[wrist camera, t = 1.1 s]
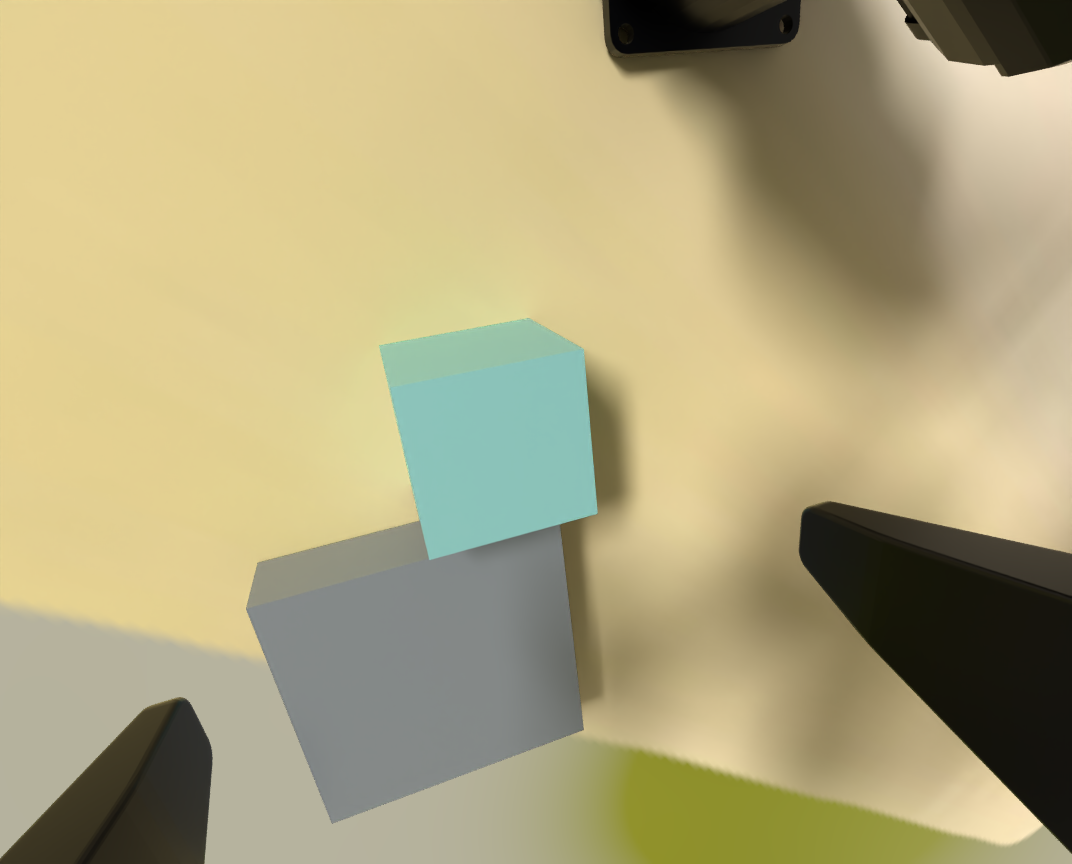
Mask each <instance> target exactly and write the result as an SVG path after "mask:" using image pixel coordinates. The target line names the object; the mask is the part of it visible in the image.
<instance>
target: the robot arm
mask: <svg viewBox="0 0 1072 864" xmlns="http://www.w3.org/2000/svg"><path fill="white" fill-rule="evenodd" d="M602 1H603V18H604V36H605V43H606V47H607V48H608V50H609V52H610V53H611V54H613V55H614V56H615V57H620V58H623V57H637V56H652V55H666V54H681V53H695V52H709V51H724V50H738V49H752V48H767V47H777V46H780V45H783V44H786V43H788V42H790V41H791V40H793V39H794V38H795V36H796V34H797V32H798V28H799V22H800V4H801V0H602ZM897 1H898V3H899V4H900V5H901V7H902V8H903V10H904V11H905V13H906V14H907V16H906V18H905V23H906V24H907V26H908V27H909V29H910V30H911V32H912V33H913V34H914V36H915V37H916V38H917V39H919V40H929V41H931V42H932V43H933V44H934V46H935V47H936V48H937V49H938V50H939V51H940V52H941V53H942V54H943V55H944V56H945V57H946V58H947V60H948V61H954V62H962V63H969V64H976V65H983V66H986V65H995V67H996V68H997V70H998V72H999V73H1000V74H1001V76H1007V77H1009V76H1014V75H1019V74H1023V73H1028V72H1032V71H1037V70H1042V69H1046V68H1050V67H1055V66H1059V65H1063V64H1067V63H1069V62H1072V0H897ZM780 19H781V20H782V22H783V23H784V31H783V33H782V32H781V31H780V28H779V23H780ZM619 28H624V29H625V31H626V32H627V35H628V41H627V44H623V43H622V42H621V41H620V40H619V36H618V31H619ZM799 555H800V558H801V561H802V563H803V565H804V566H805V568H806V569H807V570H808V571H809V572H810V574H811V575H812V576H813V577H814V579H815V580H816V581H817V582H818V583H819V585H820V586H821V587H822V588H823V590H824V591H825V592H826V593H827V595H828V596H829V597H830V598H831V599H832V601H833V602H834V603H835V604H836V606H837V607H838V608H839V609H840V611H841V612H842V613H843V614H844V615H845V617H846V618H847V619H848V620H849V622H850V623H851V624H852V625H853V627H854V628H855V629H856V630H857V631H858V633H859V634H860V635H861V636H862V637H863V638H864V640H865V641H866V642H867V643H868V644H869V645H870V646H871V647H872V649H873V650H874V651H875V652H876V653H877V654H878V655H879V656H880V657H881V658H882V659H883V660H884V661H885V662H886V663H887V664H888V665H889V666H890V667H891V668H892V669H893V670H894V672H895V673H896V674H897V675H898V676H899V677H900V678H901V679H902V680H903V681H904V682H905V683H906V684H907V685H908V686H909V687H910V688H911V689H912V690H913V691H914V692H915V693H916V694H917V695H918V696H919V697H920V698H921V699H922V700H923V701H924V702H925V703H926V704H927V705H928V707H929V708H930V709H931V710H932V711H933V712H934V713H935V714H936V715H937V716H938V717H939V718H940V719H941V720H942V721H943V722H944V723H945V724H946V725H947V726H948V727H949V728H950V729H951V730H952V731H953V732H954V733H955V734H956V735H957V736H958V737H959V738H960V739H961V740H962V742H963V743H964V744H965V745H966V746H967V747H968V748H969V749H970V750H971V751H972V752H973V753H974V754H975V755H976V756H977V757H978V758H979V759H980V760H981V761H982V762H983V763H984V764H985V765H986V766H987V767H988V768H989V769H990V770H991V771H992V772H993V773H994V774H995V775H996V776H997V778H998V779H999V780H1000V781H1001V782H1002V783H1003V784H1004V785H1005V786H1006V787H1007V788H1008V789H1009V790H1010V791H1011V792H1012V793H1013V794H1014V795H1015V796H1016V797H1017V798H1018V799H1019V800H1020V801H1021V802H1022V803H1023V804H1024V805H1025V806H1026V807H1027V808H1028V809H1029V810H1030V811H1031V813H1032V814H1033V815H1034V816H1035V817H1036V818H1037V819H1038V820H1039V821H1040V822H1041V823H1042V824H1043V825H1044V826H1045V827H1046V828H1047V829H1048V830H1049V831H1050V832H1051V833H1052V834H1053V835H1054V836H1055V837H1056V838H1057V839H1058V840H1059V841H1060V842H1061V843H1062V844H1063V845H1064V846H1065V847H1066V849H1068V850H1069V852H1070V853H1071V854H1072V554H1070V553H1066V552H1061V551H1056V550H1052V549H1047V548H1043V547H1038V546H1034V545H1029V544H1024V543H1020V542H1015V541H1011V540H1006V539H1001V538H997V537H992V536H988V535H983V534H978V533H974V532H969V531H965V530H960V529H956V528H951V527H946V526H942V525H937V524H933V523H928V522H923V521H919V520H914V519H910V518H905V517H900V516H896V515H891V514H887V513H882V512H878V511H873V510H868V509H864V508H859V507H855V506H850V505H845V504H841V503H836V502H831V501H827V502H822V503H819V504H816V505H812V506H809V507H807V508H806V509H804V511H803V513H802V516H801V527H800V539H799ZM211 773H212V750H211V745H210V742H209V739H208V737H207V736H206V733H205V731H204V729H203V727H202V725H201V723H200V721H199V719H198V717H197V715H196V713H195V711H194V709H193V707H192V705H191V704H190V702H189V701H188V700H187V699H185V698H181V697H179V698H174V699H171V700H168V701H164V702H161V703H158V704H155V705H151V706H149V707H147V708H145V709H144V710H143V711H142V712H141V713H140V714H139V715H138V716H137V717H136V718H135V719H134V720H133V721H132V722H131V723H130V724H129V725H128V726H127V727H126V728H125V729H124V730H123V731H122V732H121V733H120V734H119V735H118V737H116V739H115V740H114V741H113V742H112V743H111V744H110V745H109V746H108V747H107V748H106V749H105V750H104V751H103V752H102V753H101V754H100V755H99V756H98V757H97V758H96V759H95V760H94V761H93V763H92V764H91V765H90V766H89V767H88V768H87V769H86V770H85V771H84V772H83V773H82V774H81V775H80V776H79V777H78V778H77V779H76V780H75V781H74V782H73V783H72V784H71V785H70V786H69V788H68V789H67V790H66V791H65V792H64V793H63V794H62V795H61V796H60V797H59V798H58V799H57V800H56V801H55V802H54V803H53V804H52V805H51V806H50V807H49V808H48V809H47V810H46V811H45V812H44V814H42V816H41V817H40V818H39V819H38V820H37V821H36V822H35V823H34V824H33V825H32V826H31V827H30V828H29V829H28V830H27V831H26V832H25V833H24V835H22V836H21V837H20V838H19V839H18V841H17V842H16V843H15V844H14V845H13V846H12V847H11V848H10V849H9V850H8V851H7V852H6V853H5V854H4V855H3V856H2V857H1V858H0V864H204V860H205V849H206V836H207V823H208V810H209V798H210V786H211Z"/></svg>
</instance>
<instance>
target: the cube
mask: <svg viewBox="0 0 1072 864" xmlns="http://www.w3.org/2000/svg"><path fill="white" fill-rule="evenodd" d="M379 347H380V352H381V356H382V360H383V365H384V369H385V373H386V378H387V382H388V386H389V391H390V395H391V399H392V404H393V408H394V412H395V417H396V421H397V425H398V430H399V434H400V438H401V443H402V447H403V452H404V456H405V460H406V465H407V469H408V473H409V478H410V482H411V486H412V490H413V494H414V499H415V503H416V507H417V511H418V515H419V519H420V523H421V527H422V532H423V536H424V540H425V544H426V548H427V552H428V556H429V560H432V559H435V558H439V557H443V556H446V555H450V554H453V553H457V552H461V551H464V550H468V549H472V548H475V547H479V546H482V545H486V544H490V543H493V542H497V541H501V540H504V539H508V538H511V537H515V536H519V535H522V534H526V533H530V532H533V531H537V530H540V529H544V528H548V527H551V526H555V525H559V524H562V523H566V522H569V521H573V520H577V519H580V518H584V517H588V516H591V515H595V514H598V513H597V501H596V489H595V477H594V465H593V454H592V442H591V430H590V418H589V406H588V394H587V383H586V371H585V359H584V349H583V348H581V347H579V346H577V345H576V344H574V343H572V342H570V341H569V340H567V339H565V338H563V337H561V336H560V335H558V334H556V333H554V332H553V331H551V330H549V329H547V328H545V327H544V326H542V325H540V324H538V323H536V322H535V321H533V320H531V319H529V318H528V319H522V320H517V321H511V322H506V323H500V324H495V325H489V326H484V327H478V328H473V329H467V330H462V331H456V332H451V333H445V334H440V335H434V336H429V337H423V338H418V339H412V340H407V341H401V342H396V343H390V344H385V345H379Z"/></svg>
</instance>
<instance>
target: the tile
mask: <svg viewBox="0 0 1072 864" xmlns="http://www.w3.org/2000/svg"><path fill="white" fill-rule="evenodd" d="M246 610H247V613H248V615H249V618H250V620H251V623H252V625H253V628H254V630H255V633H256V635H257V638H258V640H259V643H260V645H261V648H262V650H263V653H264V655H265V658H266V660H267V663H268V665H269V668H270V670H271V673H272V675H273V678H274V680H275V683H276V685H277V687H278V690H279V692H280V695H281V697H282V700H283V702H284V705H285V707H286V710H287V712H288V715H289V717H290V720H291V723H292V725H293V727H294V730H295V732H296V735H297V737H298V740H299V742H300V745H301V747H302V750H303V752H304V755H305V757H306V760H307V762H308V765H309V767H310V770H311V772H312V775H313V777H314V780H315V782H316V785H317V787H318V790H319V792H320V795H321V797H322V800H323V802H324V805H325V807H326V810H327V812H328V815H329V817H330V820H331V822H332V824H333V823H335V822H338V821H341V820H343V819H346V818H349V817H351V816H354V815H357V814H359V813H362V812H365V811H368V810H370V809H373V808H375V807H378V806H381V805H384V804H386V803H389V802H392V801H394V800H397V799H400V798H402V797H405V796H408V795H410V794H413V793H416V792H418V791H421V790H424V789H427V788H429V787H432V786H434V785H437V784H440V783H443V782H445V781H448V780H451V779H453V778H456V777H459V776H461V775H464V774H467V773H469V772H472V771H475V770H477V769H480V768H483V767H485V766H488V765H491V764H494V763H496V762H499V761H502V760H504V759H507V758H510V757H512V756H515V755H518V754H520V753H523V752H526V751H528V750H531V749H534V748H536V747H539V746H542V745H544V744H547V743H550V742H553V741H555V740H558V739H561V738H563V737H566V736H569V735H571V734H574V733H577V732H579V731H582V730H584V727H583V719H582V710H581V702H580V693H579V684H578V676H577V667H576V659H575V650H574V641H573V633H572V624H571V616H570V607H569V598H568V590H567V581H566V573H565V564H564V555H563V547H562V538H561V530H560V524H559V525H555V526H551V527H548V528H544V529H540V530H537V531H533V532H530V533H526V534H522V535H519V536H515V537H511V538H508V539H504V540H501V541H497V542H493V543H490V544H486V545H482V546H479V547H475V548H472V549H468V550H464V551H461V552H457V553H453V554H450V555H446V556H443V557H439V558H435V559H432V560H429V556H428V552H427V548H426V544H425V540H424V536H423V532H422V527H421V523H420V521H417V522H414V523H410V524H406V525H402V526H398V527H394V528H390V529H387V530H383V531H379V532H375V533H371V534H367V535H363V536H359V537H356V538H352V539H348V540H344V541H340V542H336V543H332V544H329V545H325V546H321V547H317V548H313V549H309V550H305V551H302V552H298V553H294V554H290V555H286V556H282V557H278V558H275V559H271V560H267V561H263V562H259V563H257V567H256V571H255V575H254V579H253V583H252V587H251V591H250V595H249V599H248V603H247V607H246Z"/></svg>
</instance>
